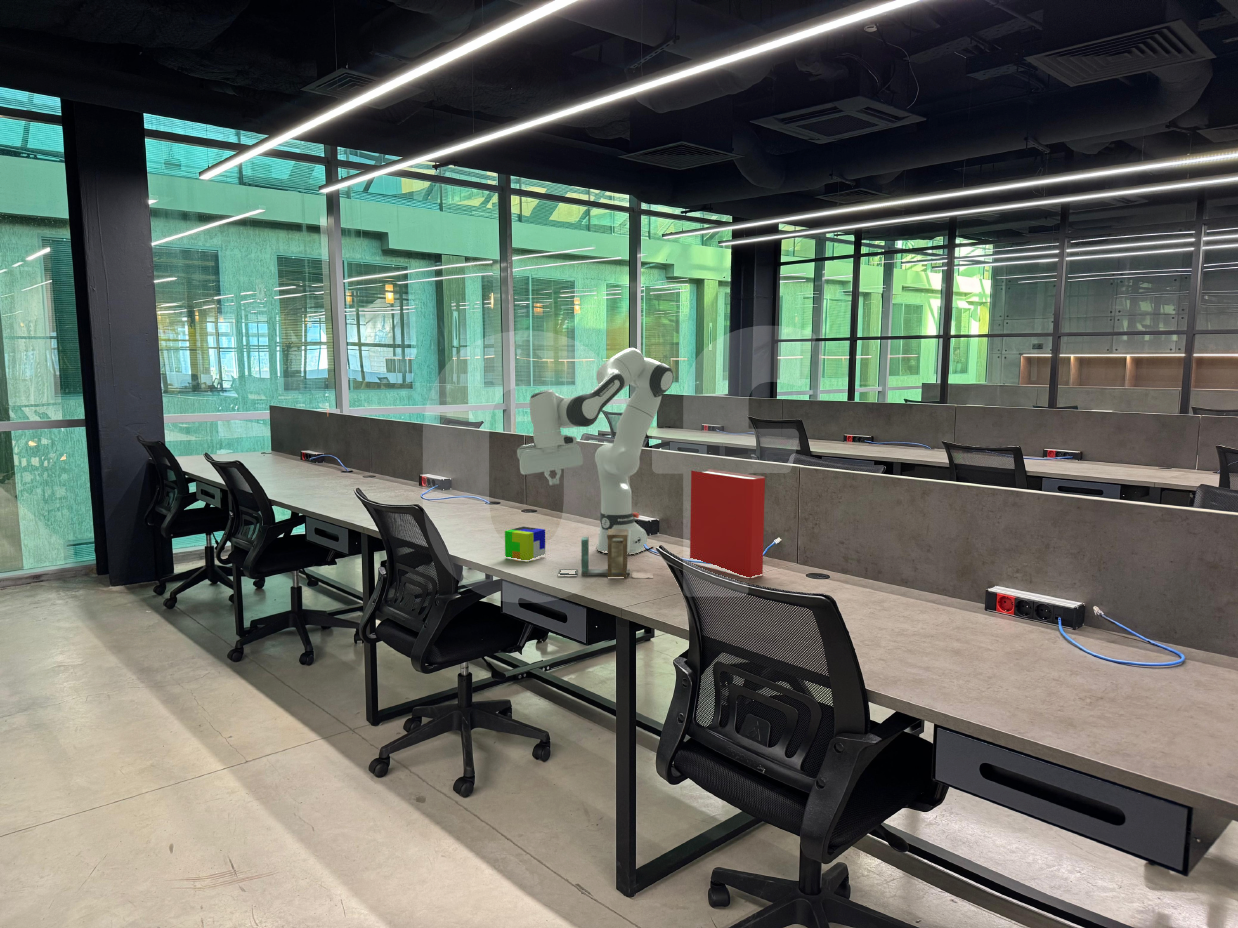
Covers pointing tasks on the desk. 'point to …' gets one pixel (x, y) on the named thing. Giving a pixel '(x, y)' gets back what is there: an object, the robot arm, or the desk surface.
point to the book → (728, 520)
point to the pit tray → (568, 573)
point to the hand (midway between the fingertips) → (554, 484)
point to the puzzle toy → (524, 543)
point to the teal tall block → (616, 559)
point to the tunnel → (623, 535)
